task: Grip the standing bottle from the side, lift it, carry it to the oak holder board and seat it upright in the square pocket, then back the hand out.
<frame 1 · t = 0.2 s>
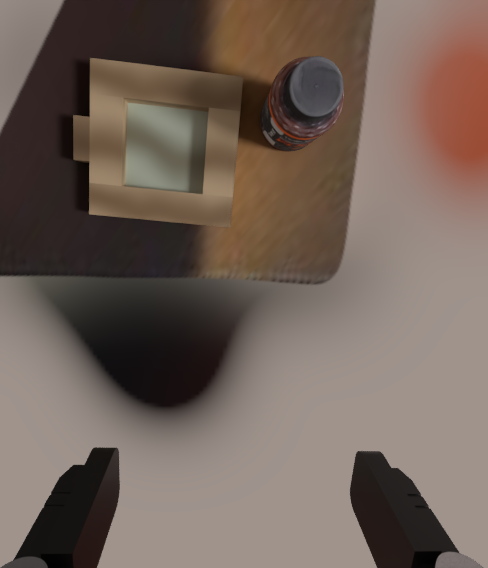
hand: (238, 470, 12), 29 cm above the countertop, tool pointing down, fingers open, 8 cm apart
supplement bottle: (288, 122, 37), on the countertop
holder: (167, 150, 37), on the countertop
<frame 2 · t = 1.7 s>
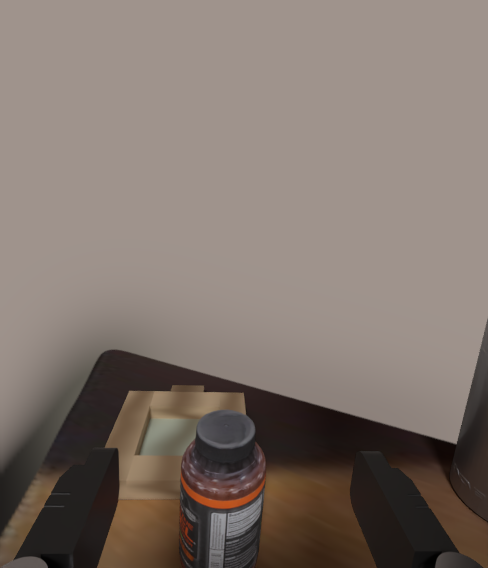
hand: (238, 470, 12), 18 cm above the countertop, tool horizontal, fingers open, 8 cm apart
supplement bottle: (218, 556, 27), on the countertop
holder: (181, 444, 39), on the countertop
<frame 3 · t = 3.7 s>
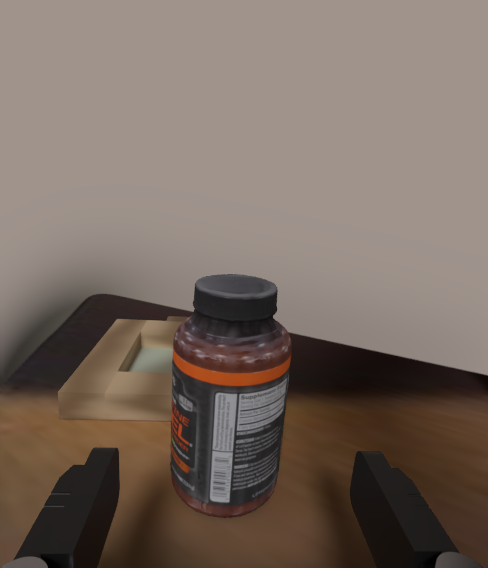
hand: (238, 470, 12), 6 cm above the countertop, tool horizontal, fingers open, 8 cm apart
supplement bottle: (223, 480, 20), on the countertop
holder: (177, 371, 32), on the countertop
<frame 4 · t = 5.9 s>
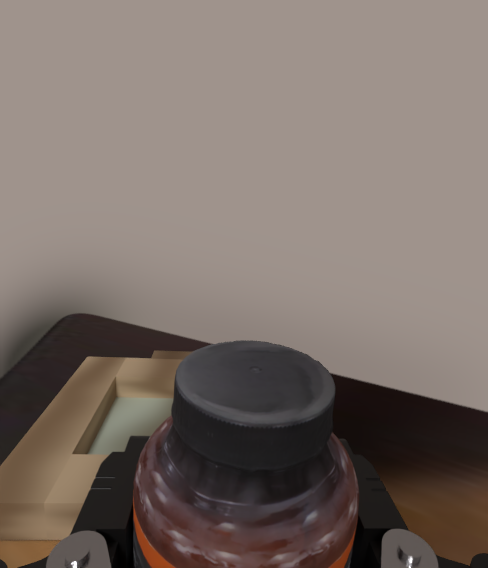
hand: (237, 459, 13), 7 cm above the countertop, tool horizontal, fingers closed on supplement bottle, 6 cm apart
holder: (162, 437, 23), on the countertop
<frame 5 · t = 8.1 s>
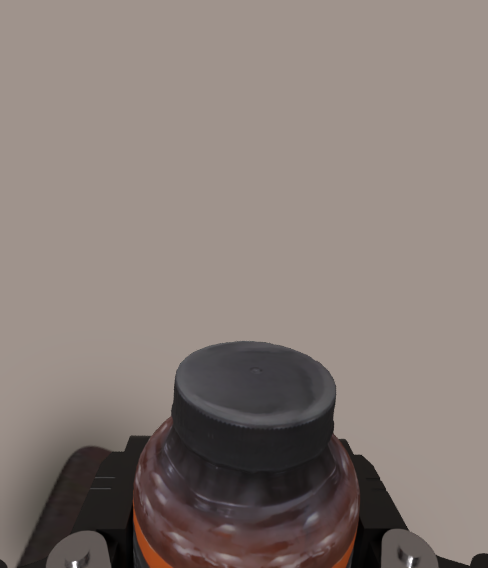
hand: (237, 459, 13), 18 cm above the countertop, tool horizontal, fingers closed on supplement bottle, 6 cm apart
when the fingers open (7 cm above the countertop, at t = 10.7 s): supplement bottle stays where it is, resting on holder.
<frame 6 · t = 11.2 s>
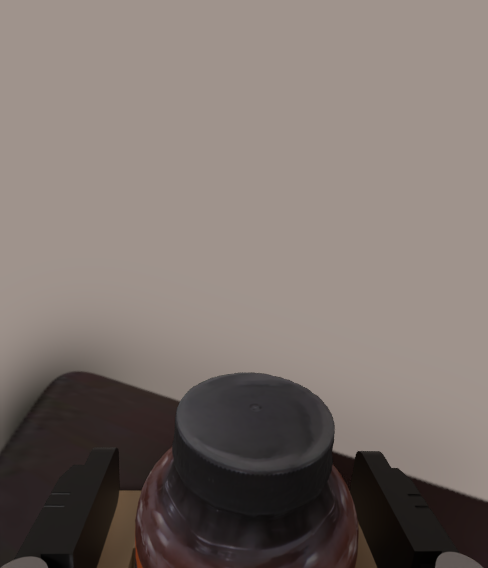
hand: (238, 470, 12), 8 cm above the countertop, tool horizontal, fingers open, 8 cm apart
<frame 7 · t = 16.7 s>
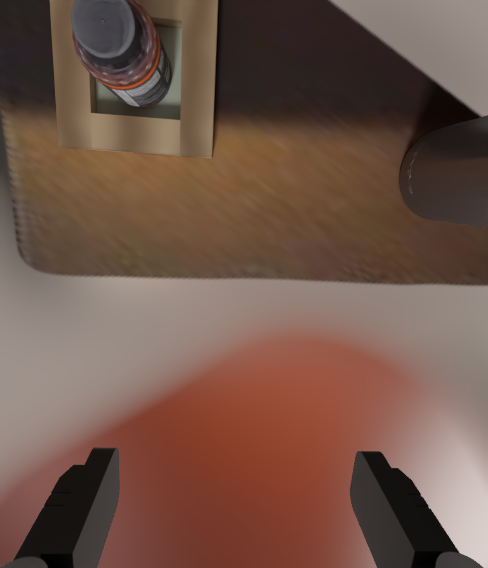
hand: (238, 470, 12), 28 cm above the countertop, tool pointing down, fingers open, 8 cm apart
supplement bottle: (141, 75, 34), resting on holder
holder: (140, 74, 34), on the countertop
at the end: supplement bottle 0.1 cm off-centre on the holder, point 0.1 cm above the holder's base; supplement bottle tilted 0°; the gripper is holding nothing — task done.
